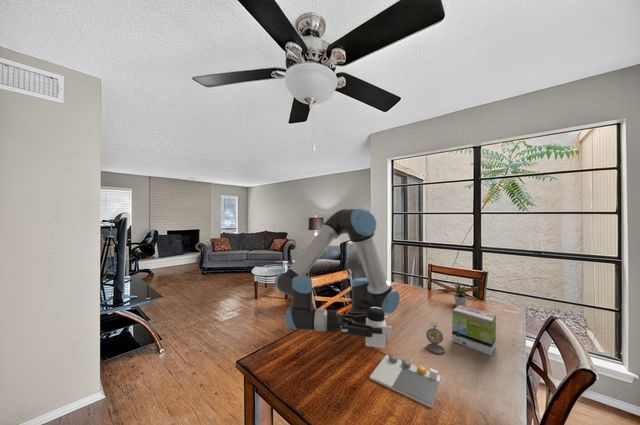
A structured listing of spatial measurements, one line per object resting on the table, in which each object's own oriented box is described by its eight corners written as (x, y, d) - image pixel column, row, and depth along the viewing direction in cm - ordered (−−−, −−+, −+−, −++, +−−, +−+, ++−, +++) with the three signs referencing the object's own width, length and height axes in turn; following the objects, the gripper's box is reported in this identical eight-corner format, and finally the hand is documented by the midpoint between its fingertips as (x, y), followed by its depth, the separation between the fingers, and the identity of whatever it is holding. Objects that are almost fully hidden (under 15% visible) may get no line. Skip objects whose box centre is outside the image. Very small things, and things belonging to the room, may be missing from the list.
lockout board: (369, 378, 80) (369, 370, 80) (386, 356, 93) (386, 349, 93) (431, 407, 68) (431, 398, 68) (441, 377, 81) (441, 369, 81)
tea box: (451, 342, 105) (451, 309, 105) (457, 334, 112) (457, 304, 112) (492, 356, 94) (492, 320, 94) (496, 347, 101) (496, 313, 101)
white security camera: (386, 349, 79) (386, 314, 79) (365, 346, 80) (365, 311, 81) (385, 338, 86) (385, 306, 86) (365, 335, 87) (366, 304, 88)
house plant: (440, 301, 154) (440, 277, 154) (456, 299, 158) (456, 276, 158) (459, 310, 140) (459, 283, 141) (476, 307, 145) (476, 282, 145)
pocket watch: (435, 355, 94) (435, 331, 94) (421, 344, 102) (421, 322, 102) (451, 352, 96) (451, 329, 96) (436, 342, 104) (436, 320, 105)
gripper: (329, 318, 96) (385, 322, 93) (323, 345, 76) (394, 352, 72) (329, 300, 96) (385, 304, 93) (323, 322, 76) (395, 328, 72)
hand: (389, 325), depth 83 cm, fingers closed on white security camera, 7 cm apart
